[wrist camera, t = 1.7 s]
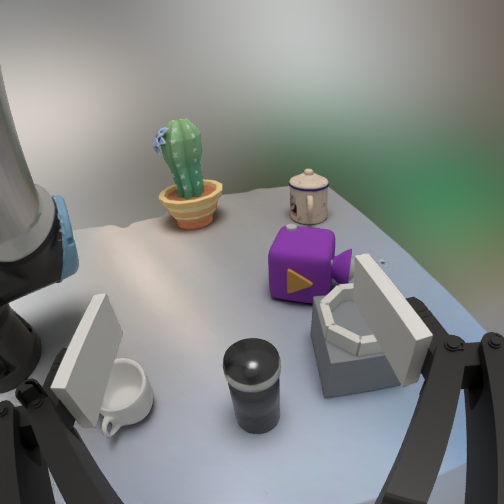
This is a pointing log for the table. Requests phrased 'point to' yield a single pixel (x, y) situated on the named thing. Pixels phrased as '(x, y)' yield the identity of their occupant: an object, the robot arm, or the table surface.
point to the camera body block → (347, 347)
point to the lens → (254, 383)
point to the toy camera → (306, 263)
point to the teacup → (125, 396)
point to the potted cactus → (186, 176)
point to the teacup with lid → (308, 198)
